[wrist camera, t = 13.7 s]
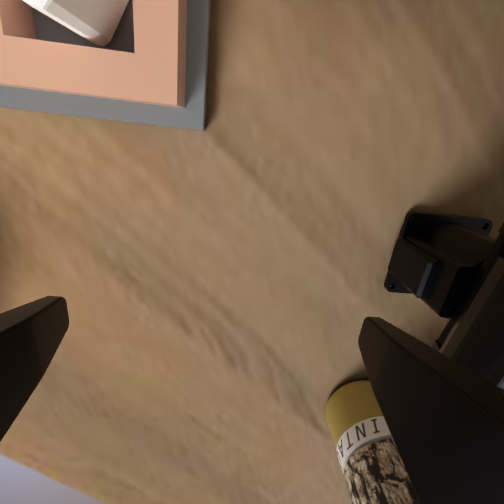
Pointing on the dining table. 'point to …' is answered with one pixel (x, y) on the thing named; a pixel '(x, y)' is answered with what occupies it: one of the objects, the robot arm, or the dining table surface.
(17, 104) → the dock
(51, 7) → the pepper shaker
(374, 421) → the bark log cylinder
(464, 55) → the dining table surface
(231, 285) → the dining table surface
